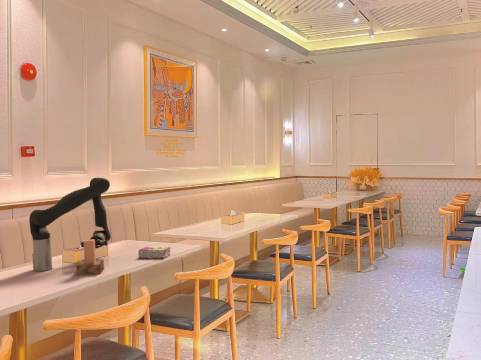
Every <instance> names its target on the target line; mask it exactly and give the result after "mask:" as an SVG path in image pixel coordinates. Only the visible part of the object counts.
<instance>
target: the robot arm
mask: <svg viewBox="0 0 481 360" xmlns="http://www.w3.org/2000/svg"><path fill="white" fill-rule="evenodd" d="M110 186H111V182H110V180H109V179H107V178H106V177H105V178H104V177H93V178H92V179H91V180H90V182H89V186H87V187H84V188H83V187H82V188H80V189H76V190H74V191H72V192H70V193H67V194H65V195H63V197H61V198H60V199H59V201H57V203H56V204H55V205H53V206H50V207H48V208H46V209H35V210H33V211H31V212H30V215H29V220H28V221H29V231H30V234H31V237H32V250H33V251H32V252H33V253H32V255H31V256H32V270H33V272H45V271H49V270H52V269H53V260H52V259H53V257H52V243H51V242H52V241H51V240H52V239H51V233H50V232H49V230H48V228H47V226H49V225H50V224H53V222H55V221H56V220H57V219H59V218H60V217H62V216H64V215H66V214H68V213H70V212H71V211H74V210H75V209H77V208H79V207H80V206H82V205H83V204H85V203H87V202H88V201H90V200H92V203H93V204H92V205H93V210H94V225H95V227H97V228H101V230H95V231H94V232H93V233H92V236H91V237H90V238H89V240H91V239H95V249H100V248H103V247H104V246H105V247H107V246H108V244H109V241H110V240H111V235H112V234H111V232H110V229H109V226H108V217H107V210H106V208H105V205H104V203H103V200H102V194H104V193H106V192H108V190H110ZM102 229H103V230H102ZM80 247H81V248H84V242H83V241H81V242H80Z"/></svg>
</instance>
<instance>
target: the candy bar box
mask: <svg viewBox="0 0 481 360" xmlns="http://www.w3.org/2000/svg"><path fill="white" fill-rule="evenodd" d="M170 255H171V247H170V246H145V247H143V248H141V249H138V258H139V259H164V258H166V257H167V258H168V257H169V256H170Z"/></svg>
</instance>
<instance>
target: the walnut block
mask: <svg viewBox="0 0 481 360" xmlns="http://www.w3.org/2000/svg"><path fill="white" fill-rule="evenodd" d="M104 269H105V260H104V259H96V262H95V263H92V264H85V260H81V261H79V262H78V264H77V265H76V275H77V276H85V275H86V276H89V275H90V276H91V275H101V274H102V272H103V271H104Z"/></svg>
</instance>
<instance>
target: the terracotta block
mask: <svg viewBox="0 0 481 360" xmlns="http://www.w3.org/2000/svg"><path fill="white" fill-rule="evenodd" d="M82 242H84V247H83V257H84V261H85V264H92V263H95V262H96V260H97V258H96V257H97V256H96V255H97V254H96V248H95V239H91V240H90V239H84V240H83V241H82Z"/></svg>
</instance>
